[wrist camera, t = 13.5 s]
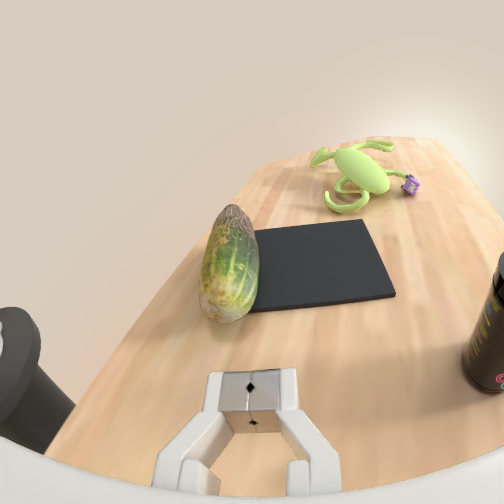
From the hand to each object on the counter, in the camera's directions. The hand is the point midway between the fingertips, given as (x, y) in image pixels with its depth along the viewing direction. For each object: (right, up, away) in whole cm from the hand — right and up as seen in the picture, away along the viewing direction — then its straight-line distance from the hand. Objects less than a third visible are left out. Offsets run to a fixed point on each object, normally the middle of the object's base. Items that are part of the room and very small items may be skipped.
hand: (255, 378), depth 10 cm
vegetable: (-2, -2, +17) cm, 17 cm away
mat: (+5, +3, +28) cm, 29 cm away
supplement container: (+21, -6, +10) cm, 24 cm away
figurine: (+21, +18, +46) cm, 53 cm away
